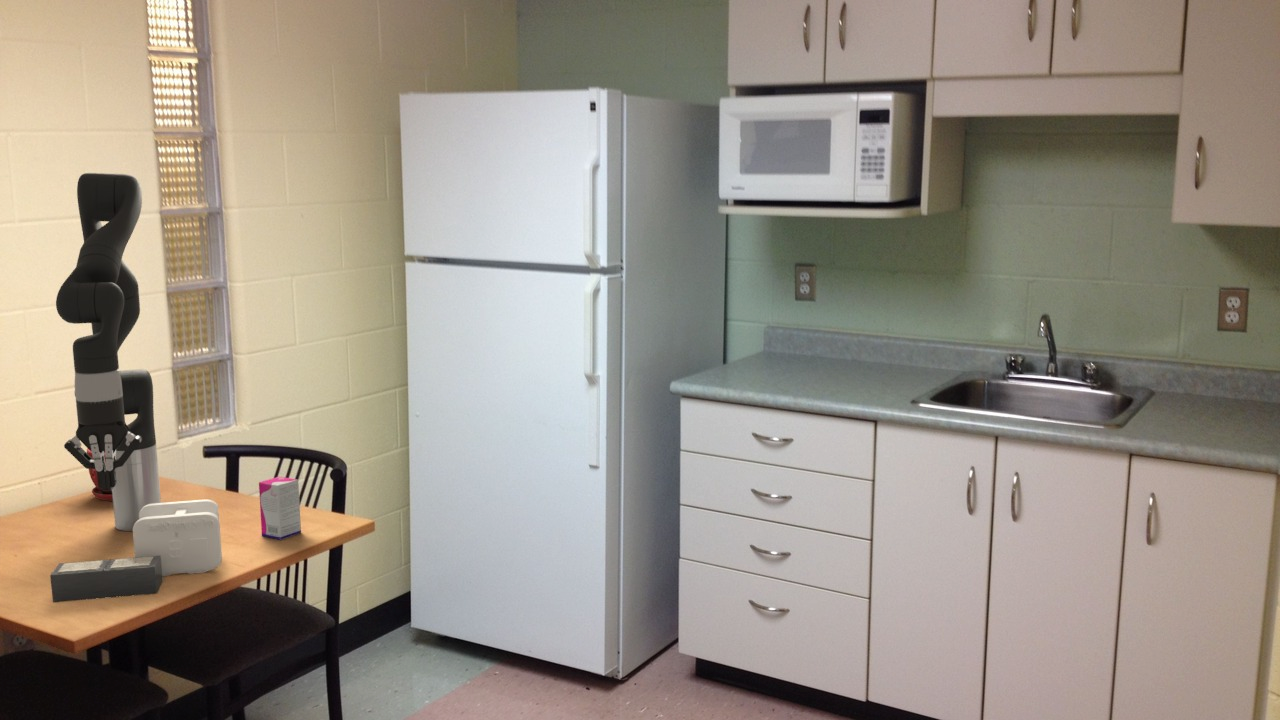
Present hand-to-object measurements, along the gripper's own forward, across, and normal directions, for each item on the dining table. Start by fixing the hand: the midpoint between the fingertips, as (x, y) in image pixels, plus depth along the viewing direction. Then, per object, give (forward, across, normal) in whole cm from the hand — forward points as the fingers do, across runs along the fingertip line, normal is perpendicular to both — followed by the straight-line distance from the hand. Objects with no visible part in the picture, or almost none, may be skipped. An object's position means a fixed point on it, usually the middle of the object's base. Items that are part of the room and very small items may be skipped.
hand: (107, 489), depth 204 cm
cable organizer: (+18, -10, -7) cm, 22 cm away
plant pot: (+20, +10, -61) cm, 65 cm away
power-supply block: (+18, +1, +3) cm, 18 cm away
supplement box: (+19, -28, -22) cm, 40 cm away
